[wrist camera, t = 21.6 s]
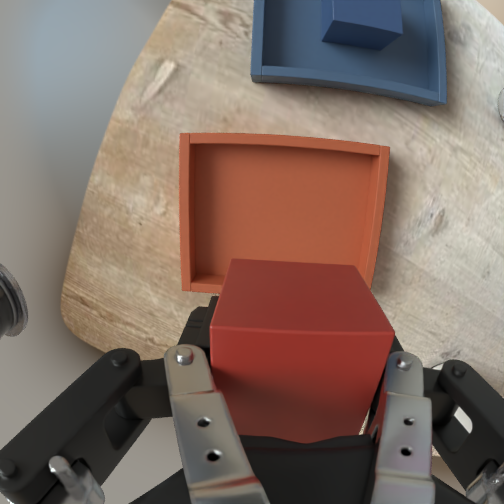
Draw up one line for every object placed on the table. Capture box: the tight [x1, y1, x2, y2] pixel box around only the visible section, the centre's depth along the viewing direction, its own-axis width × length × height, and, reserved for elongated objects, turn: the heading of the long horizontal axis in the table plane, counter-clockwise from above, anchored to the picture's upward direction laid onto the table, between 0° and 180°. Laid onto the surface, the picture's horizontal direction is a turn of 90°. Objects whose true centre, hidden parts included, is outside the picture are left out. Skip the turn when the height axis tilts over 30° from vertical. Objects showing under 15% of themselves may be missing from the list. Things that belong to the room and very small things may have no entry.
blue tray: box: [250, 0, 447, 106], centre depth 19 cm, size 16×13×3 cm
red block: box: [209, 258, 395, 443], centre depth 11 cm, size 5×5×5 cm
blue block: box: [321, 0, 403, 51], centre depth 17 cm, size 5×5×5 cm
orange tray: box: [179, 133, 390, 294], centre depth 25 cm, size 16×13×3 cm
